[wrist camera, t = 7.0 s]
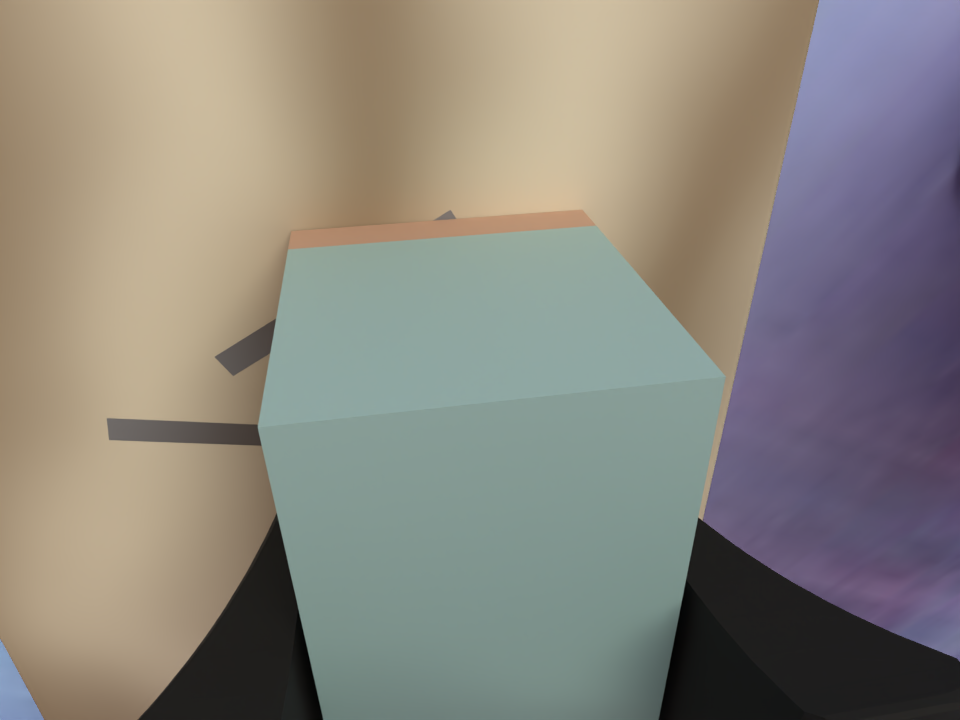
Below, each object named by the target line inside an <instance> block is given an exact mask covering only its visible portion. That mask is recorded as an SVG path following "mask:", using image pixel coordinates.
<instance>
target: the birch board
mask: <svg viewBox="0 0 960 720" xmlns="http://www.w3.org/2000/svg"><path fill="white" fill-rule="evenodd" d="M818 3H819V0H0V639H1V641H2V642H3V644H4V646H5V648H6V650H7V652H8V653H9V655H10V657H11V659H12V661H13V663H14V664H15V666H16V668H17V670H18V672H19V674H20V676H21V677H22V679H23V681H24V683H25V685H26V687H27V688H28V690H29V692H30V694H31V696H32V698H33V700H34V701H35V703H36V705H37V707H38V709H39V711H40V712H41V714H42V716H43V718H44V720H138V719H139V717H140V716H141V715H142V714H143V713H144V712H145V711H146V710H147V709H148V708H149V707H150V705H151V704H152V703H153V702H154V701H155V700H156V699H157V697H158V696H159V695H160V694H161V693H162V692H163V690H164V689H165V688H166V687H167V686H168V684H169V683H170V682H171V681H172V679H173V678H174V677H175V676H176V674H177V673H178V672H179V671H180V669H181V668H182V667H183V666H184V664H185V663H186V662H187V661H188V659H189V658H190V657H191V655H192V654H193V653H194V651H195V650H196V649H197V647H198V646H199V645H200V643H201V642H202V640H203V639H204V638H205V636H206V635H207V634H208V632H209V631H210V629H211V628H212V626H213V625H214V623H215V622H216V620H217V619H218V617H219V616H220V615H221V613H222V611H223V610H224V608H225V607H226V605H227V604H228V602H229V600H230V599H231V597H232V595H233V594H234V592H235V590H236V589H237V587H238V586H239V584H240V582H241V581H242V579H243V577H244V576H245V574H246V572H247V570H248V569H249V567H250V565H251V563H252V561H253V559H254V557H255V556H256V554H257V552H258V550H259V548H260V546H261V544H262V542H263V541H264V539H265V537H266V535H267V532H268V530H269V528H270V526H271V524H272V522H273V520H274V518H275V515H276V513H277V511H276V507H275V502H274V498H273V494H272V489H271V485H270V480H269V476H268V471H267V467H266V462H265V458H264V454H263V449H262V445H261V440H260V436H259V431H258V423H259V417H260V411H261V405H262V399H263V393H264V387H265V382H266V376H267V370H268V364H269V358H270V352H271V346H272V341H273V335H274V329H275V323H276V317H277V311H278V305H279V299H280V294H281V288H282V282H283V276H284V270H285V264H286V258H287V253H288V247H289V241H290V235H291V231H299V230H313V229H326V228H340V227H353V226H367V225H380V224H394V223H407V222H421V221H434V220H448V219H461V218H475V217H488V216H502V215H515V214H529V213H542V212H556V211H570V210H583V211H584V212H585V213H586V214H587V215H588V217H589V218H590V219H591V220H592V221H593V222H594V224H595V225H596V226H597V227H598V228H599V229H600V231H601V232H602V233H603V234H604V235H605V236H606V238H607V239H608V240H609V241H610V242H611V243H612V244H613V246H614V247H615V248H616V249H617V250H618V251H619V253H620V254H621V255H622V256H623V257H624V258H625V260H626V261H627V262H628V263H629V264H630V265H631V267H632V268H633V269H634V270H635V271H636V272H637V274H638V275H639V276H640V277H641V278H642V279H643V281H644V282H645V283H646V284H647V285H648V286H649V288H650V289H651V290H652V291H653V292H654V293H655V295H656V296H657V297H658V298H659V299H660V300H661V302H662V303H663V304H664V305H665V306H666V307H667V309H668V310H669V311H670V312H671V313H672V314H673V316H674V317H675V318H676V319H677V320H678V321H679V323H680V324H681V325H682V326H683V327H684V328H685V330H686V331H687V332H688V333H689V334H690V335H691V337H692V338H693V339H694V340H695V341H696V342H697V344H698V345H699V346H700V347H701V348H702V349H703V351H704V352H705V353H706V354H707V355H708V356H709V358H710V359H711V360H712V361H713V362H714V363H715V364H716V366H717V367H718V368H719V369H720V370H721V371H722V373H723V374H724V375H725V376H726V378H725V383H724V389H723V394H722V399H721V404H720V409H719V414H718V419H717V424H716V429H715V434H714V440H713V445H712V450H711V455H710V460H709V465H708V470H707V475H706V480H705V485H704V491H703V496H702V501H701V506H700V511H699V516H698V518H700V519H701V520H702V521H703V516H704V512H705V507H706V503H707V498H708V494H709V489H710V485H711V480H712V476H713V471H714V467H715V463H716V458H717V454H718V449H719V445H720V440H721V436H722V431H723V427H724V422H725V418H726V413H727V409H728V404H729V400H730V396H731V391H732V387H733V382H734V378H735V373H736V369H737V364H738V360H739V355H740V351H741V346H742V342H743V338H744V333H745V329H746V324H747V320H748V315H749V311H750V306H751V302H752V297H753V293H754V288H755V284H756V280H757V275H758V271H759V266H760V262H761V257H762V253H763V248H764V244H765V239H766V235H767V230H768V226H769V221H770V217H771V213H772V208H773V204H774V199H775V195H776V190H777V186H778V181H779V177H780V172H781V168H782V163H783V159H784V155H785V150H786V146H787V141H788V137H789V132H790V128H791V123H792V119H793V114H794V110H795V105H796V101H797V97H798V92H799V88H800V83H801V79H802V74H803V70H804V65H805V61H806V56H807V52H808V47H809V43H810V38H811V34H812V30H813V25H814V21H815V16H816V12H817V7H818Z"/></svg>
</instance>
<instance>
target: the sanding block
mask: <svg viewBox="0 0 960 720" xmlns="http://www.w3.org/2000/svg"><path fill="white" fill-rule="evenodd" d="M725 378H726V376H725V375H724V374H723V373H722V371H721V370H720V369H719V368H718V367H717V366H716V364H715V363H714V362H713V361H712V360H711V359H710V358H709V356H708V355H707V354H706V353H705V352H704V351H703V349H702V348H701V347H700V346H699V345H698V344H697V342H696V341H695V340H694V339H693V338H692V337H691V335H690V334H689V333H688V332H687V331H686V330H685V328H684V327H683V326H682V325H681V324H680V323H679V321H678V320H677V319H676V318H675V317H674V316H673V314H672V313H671V312H670V311H669V310H668V309H667V307H666V306H665V305H664V304H663V303H662V302H661V300H660V299H659V298H658V297H657V296H656V295H655V293H654V292H653V291H652V290H651V289H650V288H649V286H648V285H647V284H646V283H645V282H644V281H643V279H642V278H641V277H640V276H639V275H638V274H637V272H636V271H635V270H634V269H633V268H632V267H631V265H630V264H629V263H628V262H627V261H626V260H625V258H624V257H623V256H622V255H621V254H620V253H619V251H618V250H617V249H616V248H615V247H614V246H613V244H612V243H611V242H610V241H609V240H608V239H607V238H606V236H605V235H604V234H603V233H602V232H601V231H600V229H599V228H598V227H597V226H596V225H595V224H594V222H593V221H592V220H591V219H590V218H589V217H588V215H587V214H586V213H585V212H584V211H583V210H570V211H556V212H542V213H529V214H515V215H502V216H488V217H475V218H461V219H448V220H434V221H421V222H407V223H394V224H380V225H367V226H353V227H340V228H326V229H313V230H299V231H291V235H290V241H289V247H288V253H287V258H286V264H285V270H284V276H283V282H282V288H281V294H280V299H279V305H278V311H277V317H276V323H275V329H274V335H273V341H272V346H271V352H270V358H269V364H268V370H267V376H266V382H265V387H264V393H263V399H262V405H261V411H260V417H259V423H258V431H259V436H260V440H261V445H262V449H263V454H264V458H265V462H266V467H267V471H268V476H269V480H270V485H271V489H272V494H273V498H274V502H275V507H276V511H277V516H278V520H279V525H280V529H281V534H282V538H283V542H284V547H285V551H286V556H287V560H288V565H289V569H290V574H291V578H292V582H293V587H294V591H295V596H296V600H297V605H298V609H299V614H300V618H301V623H302V627H303V631H304V636H305V640H306V645H307V649H308V654H309V658H310V663H311V667H312V671H313V676H314V680H315V685H316V689H317V694H318V698H319V703H320V707H321V711H322V716H323V720H659V715H660V710H661V705H662V700H663V694H664V689H665V684H666V679H667V674H668V669H669V664H670V659H671V654H672V649H673V643H674V638H675V633H676V628H677V623H678V618H679V613H680V608H681V603H682V598H683V592H684V587H685V582H686V577H687V572H688V567H689V562H690V557H691V552H692V547H693V542H694V536H695V531H696V526H697V521H698V516H699V511H700V506H701V501H702V496H703V491H704V485H705V480H706V475H707V470H708V465H709V460H710V455H711V450H712V445H713V440H714V434H715V429H716V424H717V419H718V414H719V409H720V404H721V399H722V394H723V389H724V383H725Z"/></svg>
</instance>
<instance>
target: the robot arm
mask: <svg viewBox="0 0 960 720" xmlns="http://www.w3.org/2000/svg"><path fill="white" fill-rule="evenodd" d="M138 720H323V716H322V711H321V707H320V703H319V698H318V694H317V689H316V685H315V680H314V676H313V671H312V667H311V663H310V658H309V654H308V649H307V645H306V640H305V636H304V631H303V627H302V623H301V618H300V614H299V609H298V605H297V600H296V596H295V591H294V587H293V582H292V578H291V574H290V569H289V565H288V560H287V556H286V551H285V547H284V542H283V538H282V534H281V529H280V525H279V520H278V516H277V513H276V515H275V518H274V520H273V522H272V524H271V526H270V528H269V530H268V532H267V535H266V537H265V539H264V541H263V542H262V544H261V546H260V548H259V550H258V552H257V554H256V556H255V557H254V559H253V561H252V563H251V565H250V567H249V569H248V570H247V572H246V574H245V576H244V577H243V579H242V581H241V582H240V584H239V586H238V587H237V589H236V590H235V592H234V594H233V595H232V597H231V599H230V600H229V602H228V604H227V605H226V607H225V608H224V610H223V611H222V613H221V615H220V616H219V617H218V619H217V620H216V622H215V623H214V625H213V626H212V628H211V629H210V631H209V632H208V634H207V635H206V636H205V638H204V639H203V640H202V642H201V643H200V645H199V646H198V647H197V649H196V650H195V651H194V653H193V654H192V655H191V657H190V658H189V659H188V661H187V662H186V663H185V664H184V666H183V667H182V668H181V669H180V671H179V672H178V673H177V674H176V676H175V677H174V678H173V679H172V681H171V682H170V683H169V684H168V686H167V687H166V688H165V689H164V690H163V692H162V693H161V694H160V695H159V696H158V697H157V699H156V700H155V701H154V702H153V703H152V704H151V705H150V707H149V708H148V709H147V710H146V711H145V712H144V713H143V714H142V715H141V716H140V717H139V719H138ZM659 720H960V662H959V661H958V659H957V658H954V657H952V656H949V655H947V654H944V653H942V652H939V651H937V650H934V649H932V648H929V647H927V646H924V645H922V644H919V643H916V642H914V641H911V640H909V639H906V638H904V637H901V636H899V635H896V634H894V633H892V632H890V631H887V630H885V629H883V628H881V627H879V626H876V625H874V624H872V623H870V622H868V621H866V620H864V619H861V618H859V617H857V616H855V615H853V614H851V613H849V612H847V611H845V610H843V609H841V608H839V607H837V606H835V605H833V604H831V603H829V602H827V601H825V600H823V599H822V598H820V597H818V596H816V595H814V594H813V593H811V592H809V591H807V590H805V589H804V588H802V587H800V586H798V585H796V584H795V583H793V582H791V581H789V580H788V579H786V578H784V577H783V576H781V575H779V574H778V573H776V572H775V571H773V570H771V569H770V568H768V567H767V566H765V565H764V564H762V563H761V562H759V561H758V560H756V559H755V558H753V557H751V556H750V555H748V554H747V553H745V552H744V551H742V550H741V549H740V548H738V547H737V546H735V545H734V544H732V543H731V542H730V541H728V540H727V539H726V538H724V537H723V536H722V535H720V534H719V533H718V532H716V531H715V530H714V529H712V528H711V527H710V526H709V525H707V524H706V523H705V522H703V521H702V520H701V519H700V518H698V521H697V526H696V531H695V536H694V542H693V547H692V552H691V557H690V562H689V567H688V572H687V577H686V582H685V587H684V592H683V598H682V603H681V608H680V613H679V618H678V623H677V628H676V633H675V638H674V643H673V649H672V654H671V659H670V664H669V669H668V674H667V679H666V684H665V689H664V694H663V700H662V705H661V710H660V715H659Z"/></svg>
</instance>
